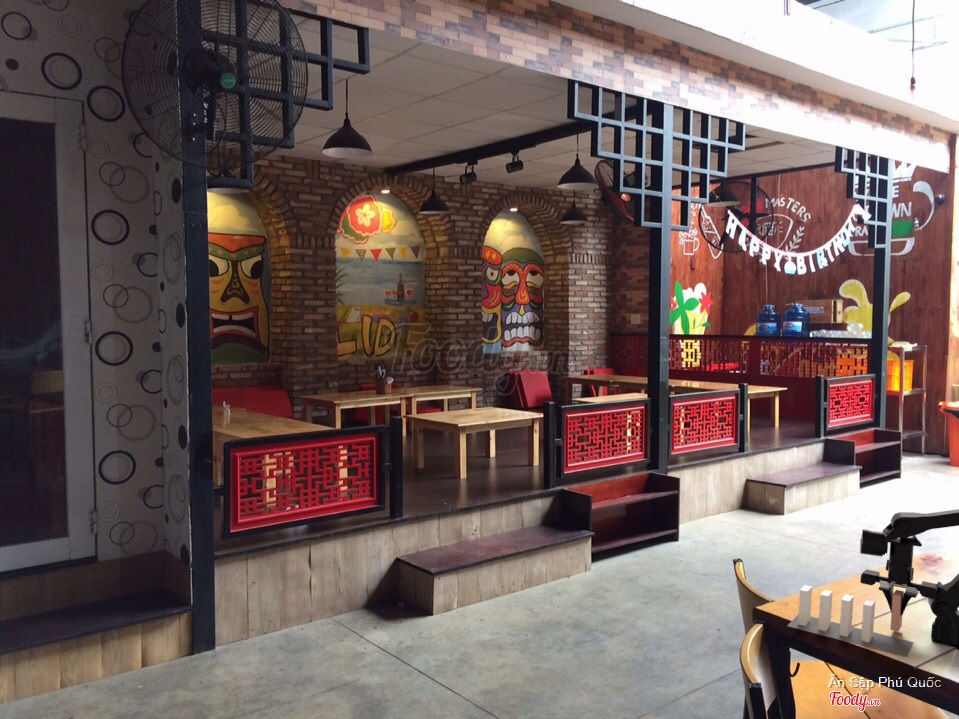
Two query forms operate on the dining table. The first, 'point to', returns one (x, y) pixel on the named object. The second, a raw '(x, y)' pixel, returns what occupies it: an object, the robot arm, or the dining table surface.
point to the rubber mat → (857, 637)
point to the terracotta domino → (896, 610)
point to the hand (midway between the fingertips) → (897, 613)
